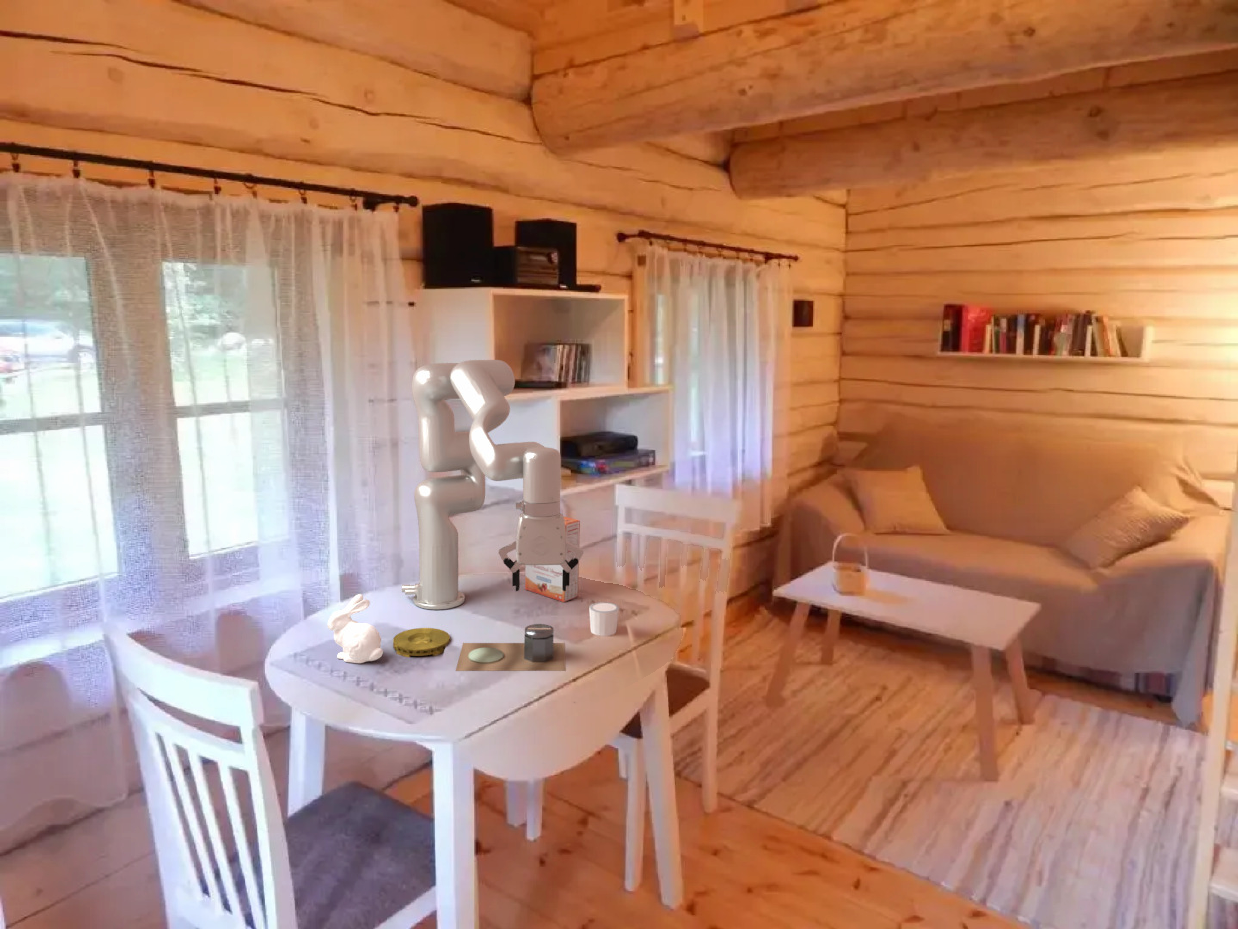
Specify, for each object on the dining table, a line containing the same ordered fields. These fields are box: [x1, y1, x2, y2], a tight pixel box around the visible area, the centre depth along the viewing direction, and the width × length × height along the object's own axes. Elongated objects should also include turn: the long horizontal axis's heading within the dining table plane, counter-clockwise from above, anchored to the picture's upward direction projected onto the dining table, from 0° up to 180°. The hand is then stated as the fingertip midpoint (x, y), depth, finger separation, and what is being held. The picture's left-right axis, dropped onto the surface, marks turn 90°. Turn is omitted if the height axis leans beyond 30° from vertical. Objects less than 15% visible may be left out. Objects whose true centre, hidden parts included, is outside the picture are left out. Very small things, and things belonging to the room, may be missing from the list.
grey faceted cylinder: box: [523, 623, 555, 662], centre depth 173 cm, size 6×6×6 cm
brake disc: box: [392, 627, 451, 658], centre depth 179 cm, size 12×12×2 cm
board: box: [455, 642, 566, 672], centre depth 173 cm, size 22×14×6 cm, turn 95°
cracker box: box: [524, 516, 581, 603], centre depth 213 cm, size 14×6×21 cm, turn 52°
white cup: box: [588, 601, 620, 637], centre depth 188 cm, size 7×7×7 cm
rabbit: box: [327, 593, 384, 664], centre depth 172 cm, size 12×9×12 cm
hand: (540, 589), depth 170 cm, fingers open, 9 cm apart
